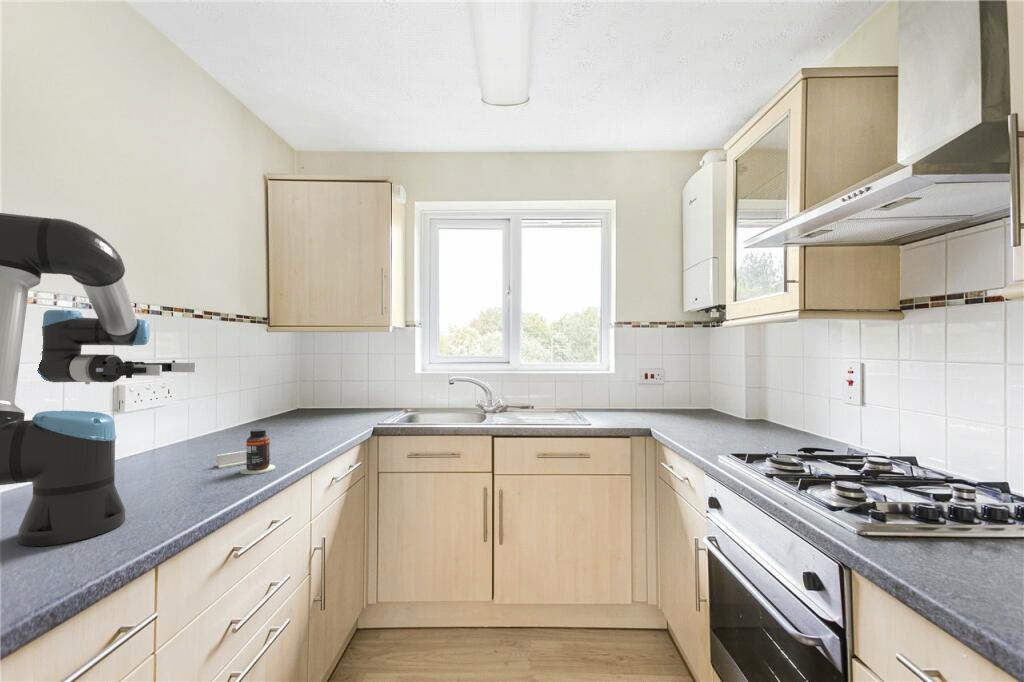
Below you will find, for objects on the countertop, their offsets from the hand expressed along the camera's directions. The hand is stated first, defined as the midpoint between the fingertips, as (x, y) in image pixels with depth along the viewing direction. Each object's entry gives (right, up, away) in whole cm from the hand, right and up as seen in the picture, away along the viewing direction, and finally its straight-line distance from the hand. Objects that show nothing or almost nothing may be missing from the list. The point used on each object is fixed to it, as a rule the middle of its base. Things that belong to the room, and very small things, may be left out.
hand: (179, 368), depth 123 cm
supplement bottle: (+16, -30, +9) cm, 35 cm away
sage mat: (+16, -30, +9) cm, 35 cm away
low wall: (+7, -30, +17) cm, 35 cm away
